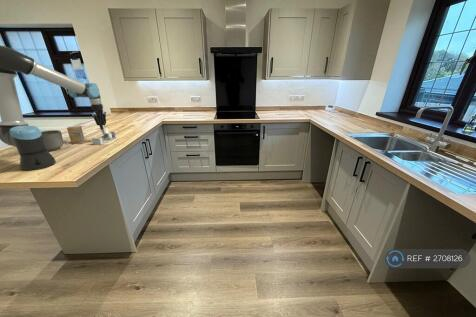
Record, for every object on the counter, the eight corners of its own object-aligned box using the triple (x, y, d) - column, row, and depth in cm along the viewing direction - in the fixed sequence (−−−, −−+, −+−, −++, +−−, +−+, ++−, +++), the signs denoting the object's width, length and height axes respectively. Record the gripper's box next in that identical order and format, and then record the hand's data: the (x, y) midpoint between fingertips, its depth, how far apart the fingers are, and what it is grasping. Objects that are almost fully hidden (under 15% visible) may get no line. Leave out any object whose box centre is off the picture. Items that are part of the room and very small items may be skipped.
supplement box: (71, 143, 156) (66, 127, 152) (74, 142, 161) (69, 126, 156) (83, 143, 159) (78, 127, 154) (85, 141, 163) (81, 126, 158)
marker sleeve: (109, 139, 165) (107, 128, 162) (104, 138, 166) (101, 128, 162) (112, 138, 168) (109, 127, 164) (106, 137, 168) (104, 127, 165)
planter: (36, 151, 140) (29, 133, 135) (59, 145, 152) (53, 129, 147) (48, 153, 135) (41, 135, 130) (70, 147, 147) (65, 131, 142)
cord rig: (101, 144, 155) (99, 137, 152) (92, 144, 155) (90, 137, 153) (117, 138, 173) (116, 131, 170) (109, 137, 173) (107, 131, 171)
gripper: (94, 105, 146) (102, 135, 155) (106, 103, 158) (113, 131, 167) (85, 104, 147) (93, 134, 156) (98, 102, 159) (105, 130, 168)
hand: (104, 132), depth 162 cm, fingers closed
